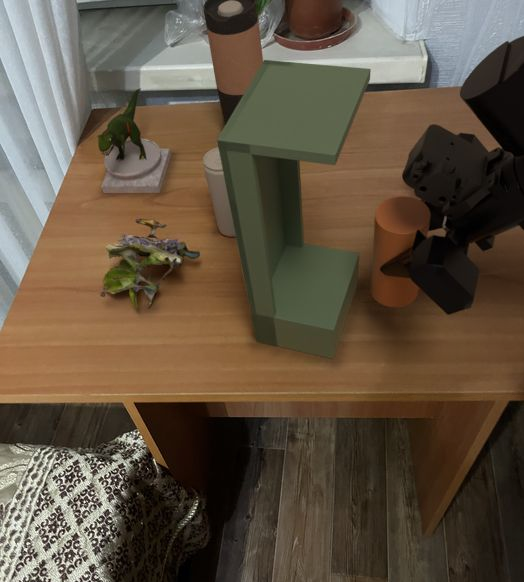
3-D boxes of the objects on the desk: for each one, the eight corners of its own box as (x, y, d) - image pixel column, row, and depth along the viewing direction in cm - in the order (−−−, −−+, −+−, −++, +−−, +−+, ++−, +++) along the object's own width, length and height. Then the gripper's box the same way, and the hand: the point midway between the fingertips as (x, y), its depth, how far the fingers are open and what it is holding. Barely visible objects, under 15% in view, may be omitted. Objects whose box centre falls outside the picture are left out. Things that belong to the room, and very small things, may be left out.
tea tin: (416, 271, 63) (428, 195, 54) (420, 307, 60) (433, 233, 51) (370, 272, 64) (374, 197, 55) (371, 307, 61) (375, 234, 52)
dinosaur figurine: (97, 209, 86) (68, 144, 76) (128, 130, 97) (105, 64, 87) (154, 209, 85) (132, 143, 75) (179, 128, 95) (162, 62, 86)
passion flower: (174, 290, 82) (209, 232, 75) (159, 341, 75) (197, 283, 67) (102, 256, 79) (131, 191, 71) (78, 306, 71) (108, 240, 63)
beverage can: (255, 218, 81) (244, 148, 71) (244, 241, 79) (231, 172, 69) (224, 213, 83) (210, 143, 73) (213, 236, 80) (196, 167, 70)
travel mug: (257, 111, 96) (242, -16, 80) (277, 133, 92) (266, 4, 75) (217, 126, 95) (194, 0, 78) (236, 150, 91) (215, 22, 74)
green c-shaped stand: (357, 284, 72) (370, 68, 48) (333, 359, 66) (335, 154, 42) (285, 271, 75) (264, 59, 51) (256, 341, 69) (216, 139, 45)
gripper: (491, 46, 47) (359, 142, 59) (456, 191, 38) (307, 270, 50) (560, 138, 52) (424, 210, 64) (543, 288, 42) (387, 339, 54)
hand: (388, 252), depth 58 cm, fingers closed on tea tin, 5 cm apart
